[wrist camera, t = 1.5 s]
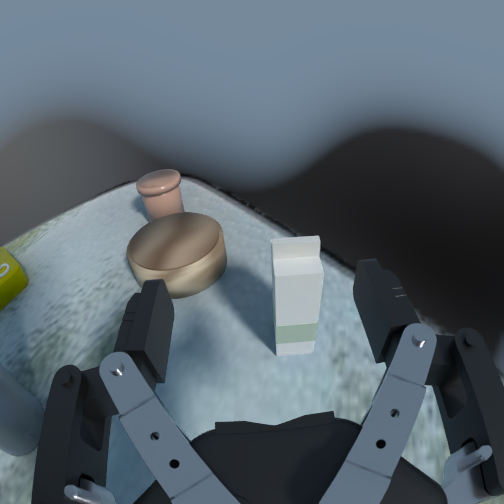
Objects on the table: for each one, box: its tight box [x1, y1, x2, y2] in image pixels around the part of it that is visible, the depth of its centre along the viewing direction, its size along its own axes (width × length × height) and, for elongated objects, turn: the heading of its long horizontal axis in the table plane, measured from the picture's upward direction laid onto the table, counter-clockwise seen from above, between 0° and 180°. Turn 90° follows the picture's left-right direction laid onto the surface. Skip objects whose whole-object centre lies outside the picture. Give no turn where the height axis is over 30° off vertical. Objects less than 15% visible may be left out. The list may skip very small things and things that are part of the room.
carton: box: [271, 236, 324, 356], centre depth 30 cm, size 4×5×14 cm
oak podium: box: [127, 212, 227, 299], centre depth 44 cm, size 14×14×5 cm
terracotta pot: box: [136, 169, 185, 223], centre depth 54 cm, size 8×8×8 cm
